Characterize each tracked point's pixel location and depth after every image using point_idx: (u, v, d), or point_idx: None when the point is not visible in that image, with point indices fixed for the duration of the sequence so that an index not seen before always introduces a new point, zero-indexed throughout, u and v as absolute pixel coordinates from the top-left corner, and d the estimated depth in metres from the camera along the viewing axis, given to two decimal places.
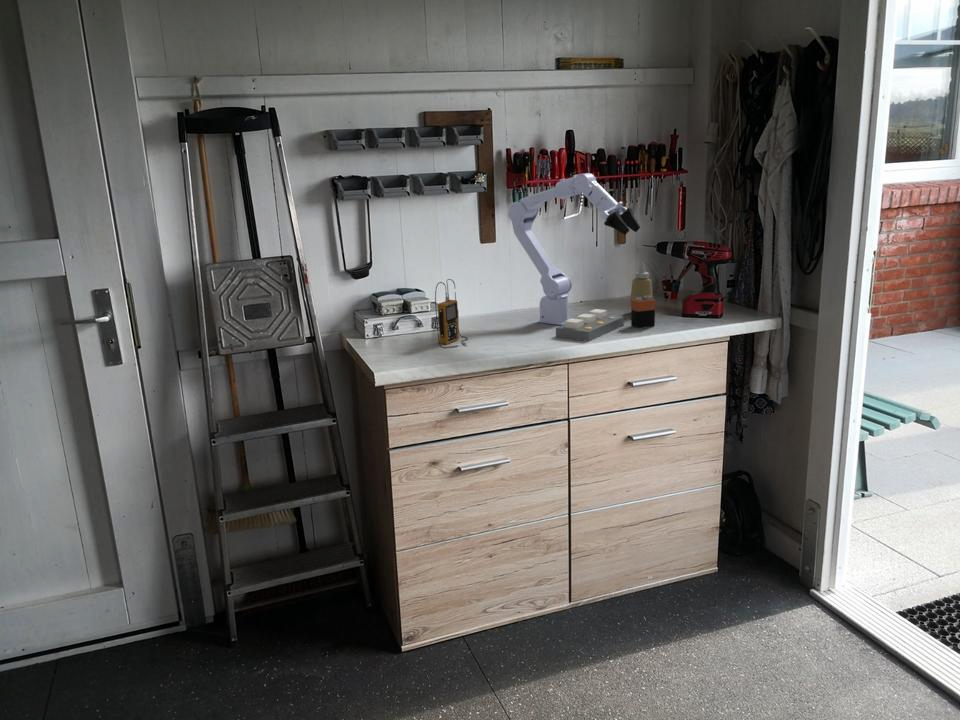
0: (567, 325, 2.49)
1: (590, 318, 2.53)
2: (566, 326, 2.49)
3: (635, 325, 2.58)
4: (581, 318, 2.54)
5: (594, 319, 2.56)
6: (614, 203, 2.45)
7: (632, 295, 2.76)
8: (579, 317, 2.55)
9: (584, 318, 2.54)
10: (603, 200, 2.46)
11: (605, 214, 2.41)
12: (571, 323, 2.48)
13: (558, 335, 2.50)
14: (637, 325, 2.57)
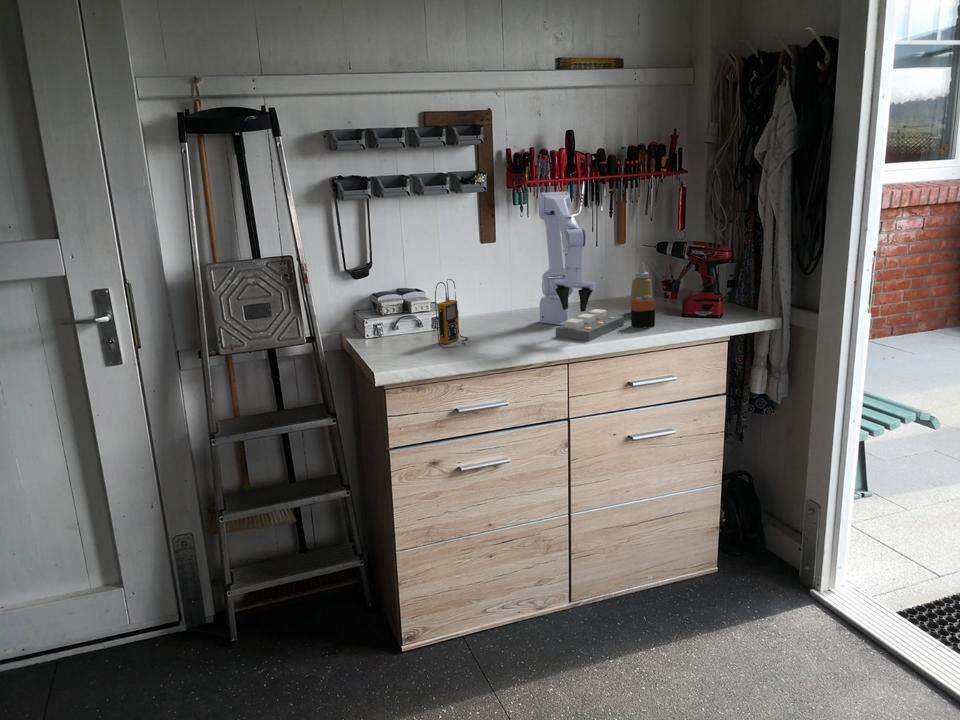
0: (567, 325, 2.49)
1: (590, 318, 2.53)
2: (566, 326, 2.49)
3: (635, 325, 2.58)
4: (581, 318, 2.54)
5: (594, 319, 2.56)
6: (566, 280, 2.44)
7: (632, 295, 2.76)
8: (579, 317, 2.55)
9: (584, 318, 2.54)
10: None
11: None
12: (571, 323, 2.48)
13: (558, 335, 2.50)
14: (637, 325, 2.57)
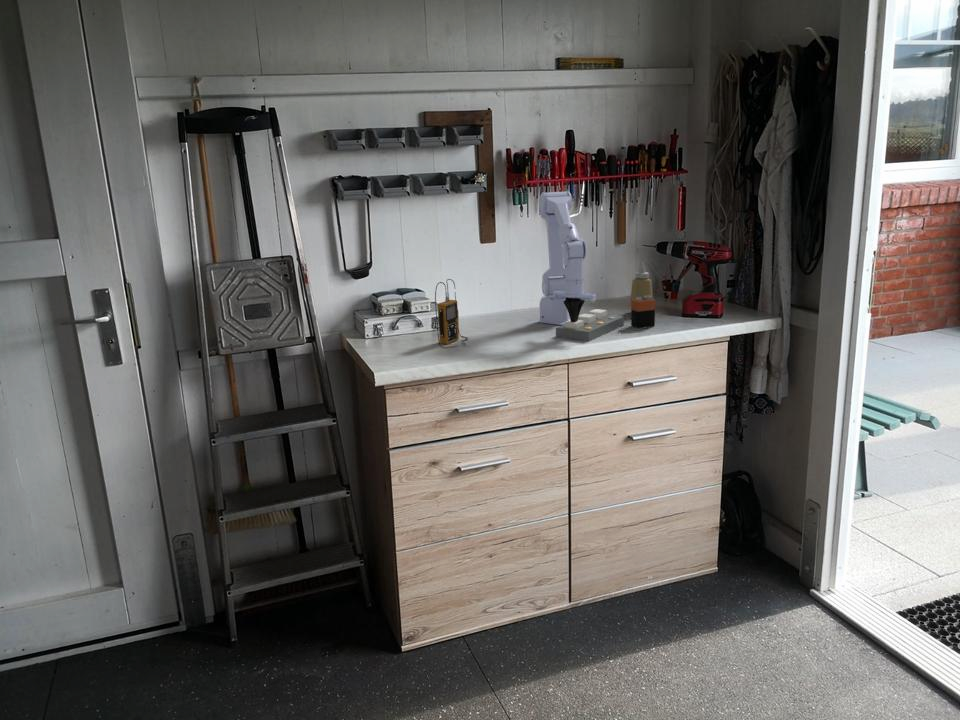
0: (567, 326, 2.49)
1: (590, 318, 2.53)
2: (566, 327, 2.49)
3: (635, 325, 2.58)
4: (581, 318, 2.54)
5: (594, 319, 2.56)
6: (566, 291, 2.45)
7: (632, 295, 2.76)
8: (579, 317, 2.55)
9: (584, 318, 2.54)
10: (565, 281, 2.46)
11: None
12: (571, 324, 2.48)
13: (558, 335, 2.50)
14: (637, 325, 2.57)
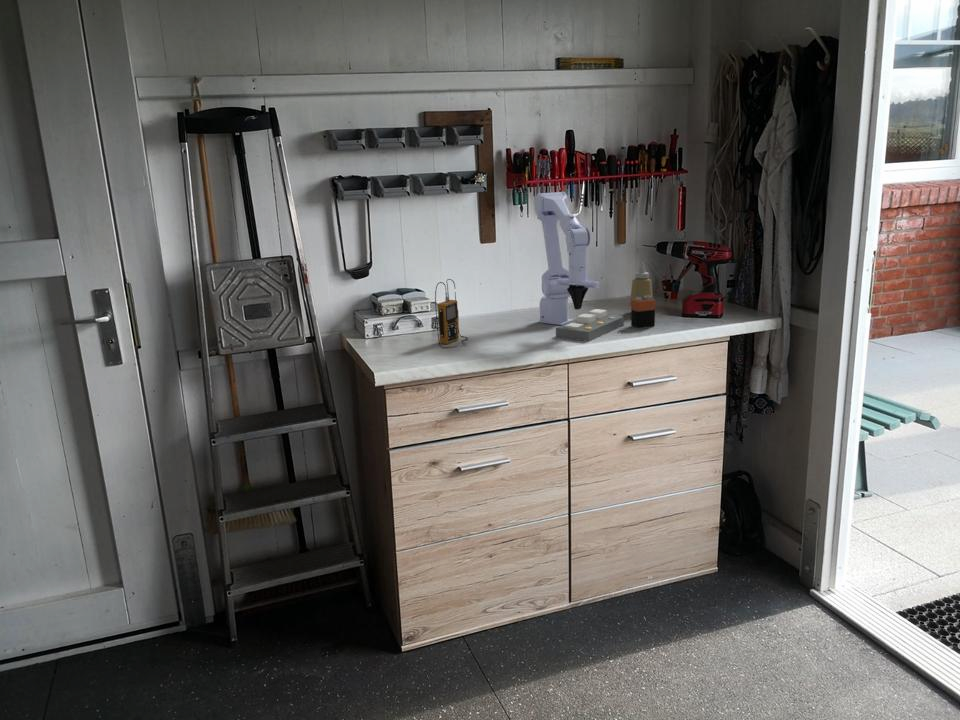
0: None
1: (590, 318, 2.53)
2: None
3: (635, 325, 2.58)
4: (581, 318, 2.54)
5: (594, 319, 2.56)
6: (570, 278, 2.46)
7: (632, 295, 2.76)
8: (579, 317, 2.55)
9: (584, 318, 2.54)
10: None
11: None
12: (571, 327, 2.48)
13: (558, 335, 2.50)
14: (637, 325, 2.57)
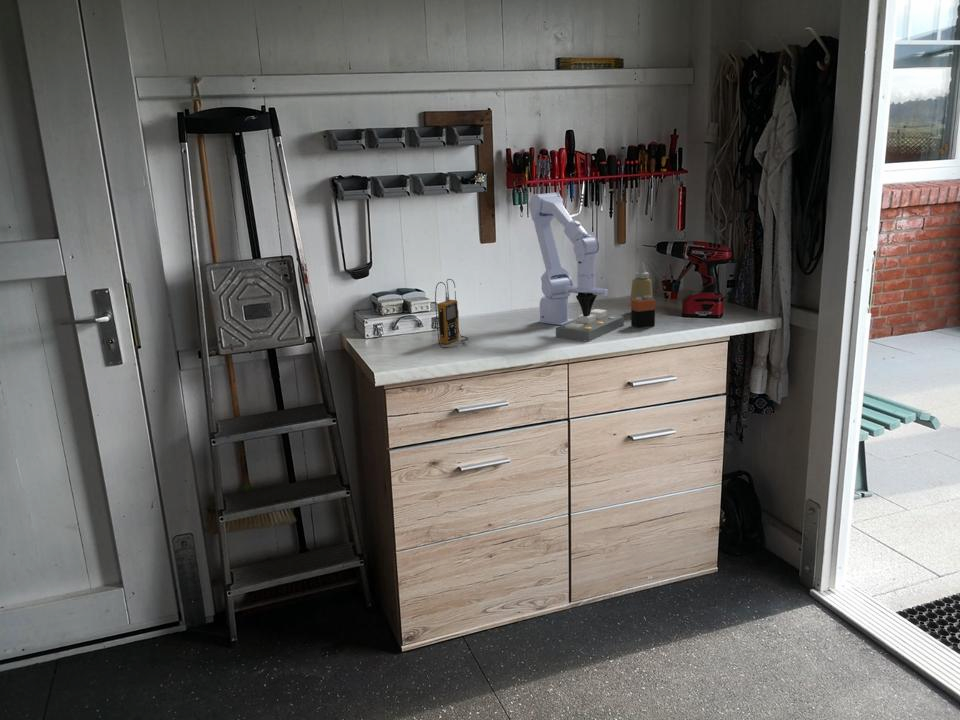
0: None
1: (590, 318, 2.53)
2: None
3: (635, 325, 2.58)
4: (581, 318, 2.54)
5: (594, 319, 2.56)
6: (579, 286, 2.51)
7: (632, 295, 2.76)
8: (579, 317, 2.55)
9: (584, 318, 2.54)
10: None
11: None
12: (571, 327, 2.48)
13: (558, 335, 2.50)
14: (637, 325, 2.57)
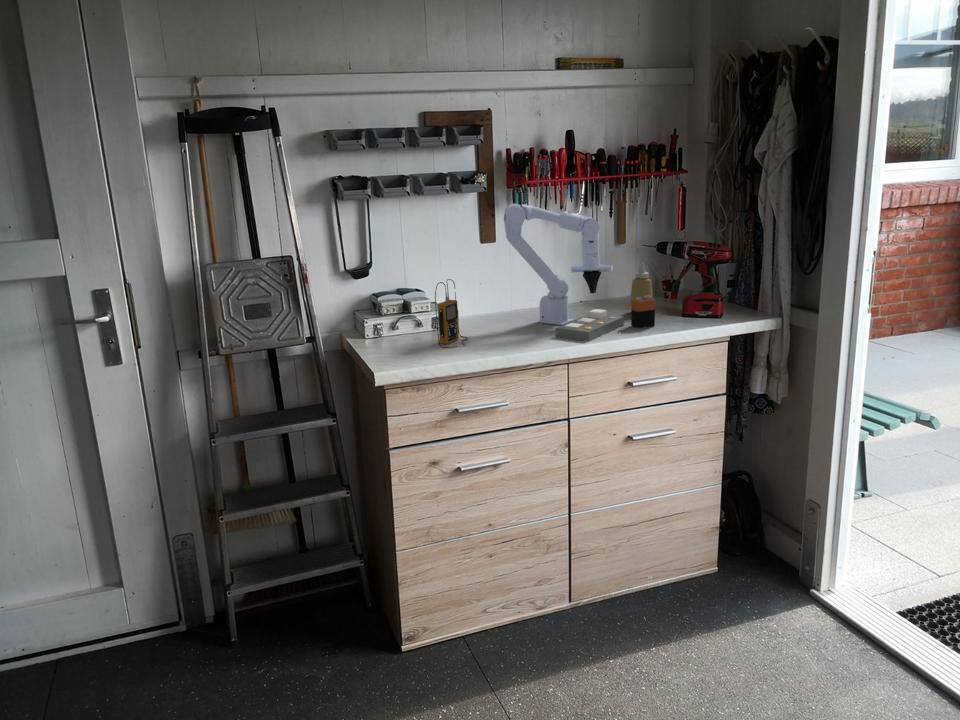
0: None
1: (590, 322, 2.54)
2: None
3: (635, 325, 2.58)
4: (581, 322, 2.55)
5: None
6: (585, 265, 2.63)
7: (632, 295, 2.76)
8: (579, 321, 2.55)
9: (584, 322, 2.54)
10: (582, 255, 2.64)
11: None
12: (571, 327, 2.48)
13: (558, 335, 2.50)
14: (637, 325, 2.57)
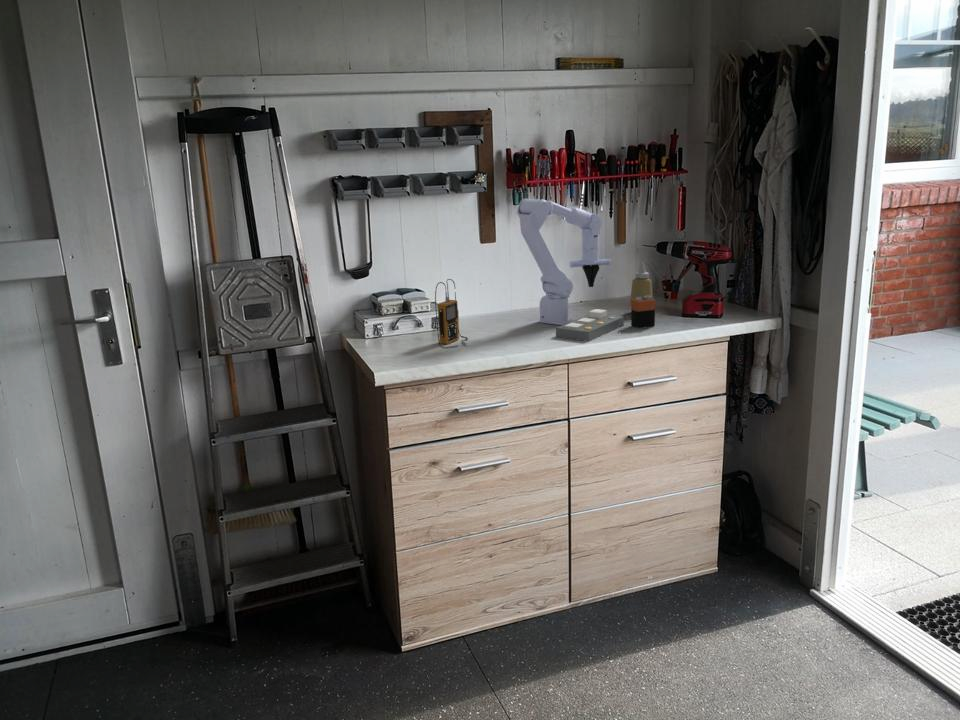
0: None
1: (590, 322, 2.54)
2: None
3: (635, 325, 2.58)
4: (581, 322, 2.55)
5: None
6: (589, 259, 2.70)
7: (632, 295, 2.76)
8: (579, 321, 2.55)
9: (584, 322, 2.54)
10: (584, 250, 2.70)
11: (570, 265, 2.72)
12: (571, 327, 2.48)
13: (558, 335, 2.50)
14: (637, 325, 2.57)
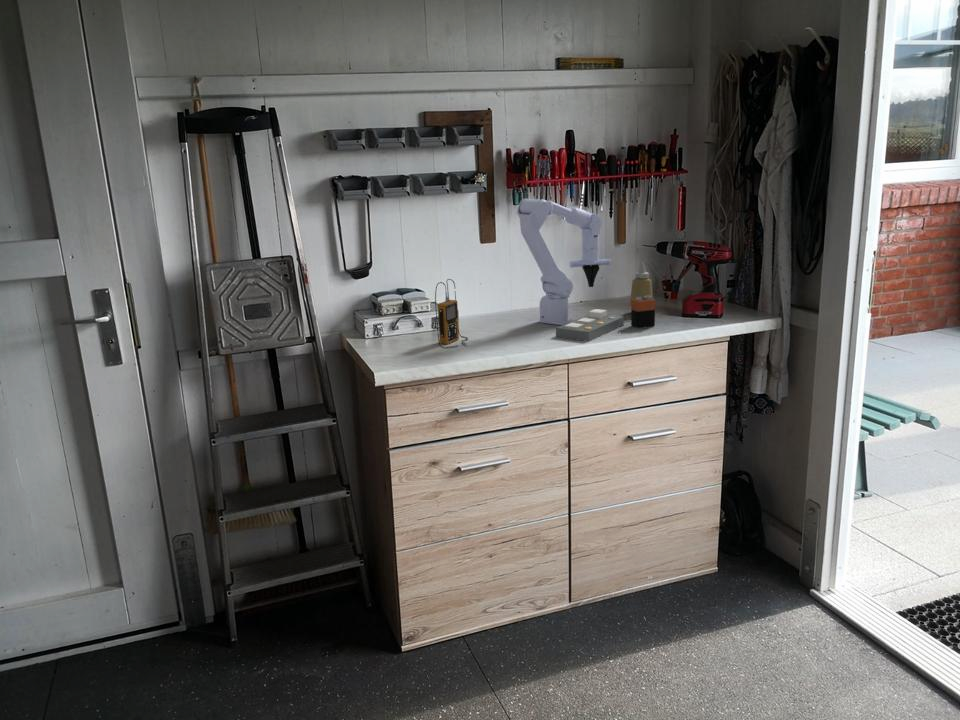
0: None
1: (590, 322, 2.54)
2: None
3: (635, 325, 2.58)
4: (581, 322, 2.55)
5: None
6: (589, 259, 2.70)
7: (632, 295, 2.76)
8: (579, 321, 2.55)
9: (584, 322, 2.54)
10: (584, 250, 2.70)
11: (570, 265, 2.72)
12: (571, 327, 2.48)
13: (558, 335, 2.50)
14: (637, 325, 2.57)
